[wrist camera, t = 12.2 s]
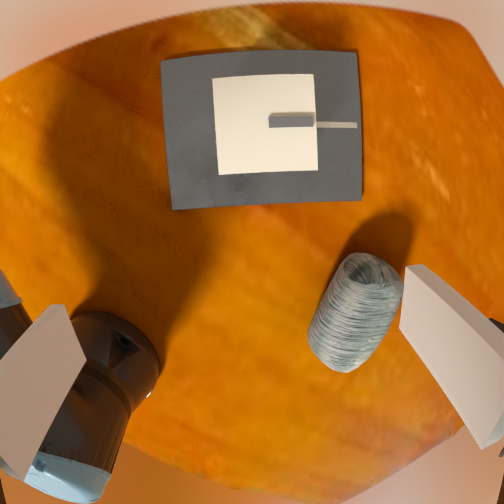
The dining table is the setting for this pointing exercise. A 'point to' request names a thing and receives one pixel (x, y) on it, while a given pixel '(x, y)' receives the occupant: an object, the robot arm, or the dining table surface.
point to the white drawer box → (265, 123)
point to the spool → (355, 311)
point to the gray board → (262, 183)
